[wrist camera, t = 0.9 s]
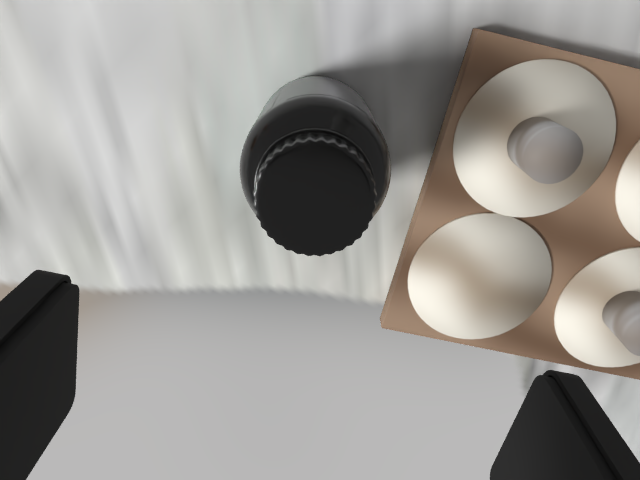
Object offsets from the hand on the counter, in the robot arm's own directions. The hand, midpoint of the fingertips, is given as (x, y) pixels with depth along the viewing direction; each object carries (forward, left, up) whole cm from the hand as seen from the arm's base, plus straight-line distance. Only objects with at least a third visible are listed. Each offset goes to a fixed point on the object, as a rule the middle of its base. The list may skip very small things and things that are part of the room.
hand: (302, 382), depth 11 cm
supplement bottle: (0, 0, -22) cm, 22 cm away
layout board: (+2, +17, -22) cm, 28 cm away
